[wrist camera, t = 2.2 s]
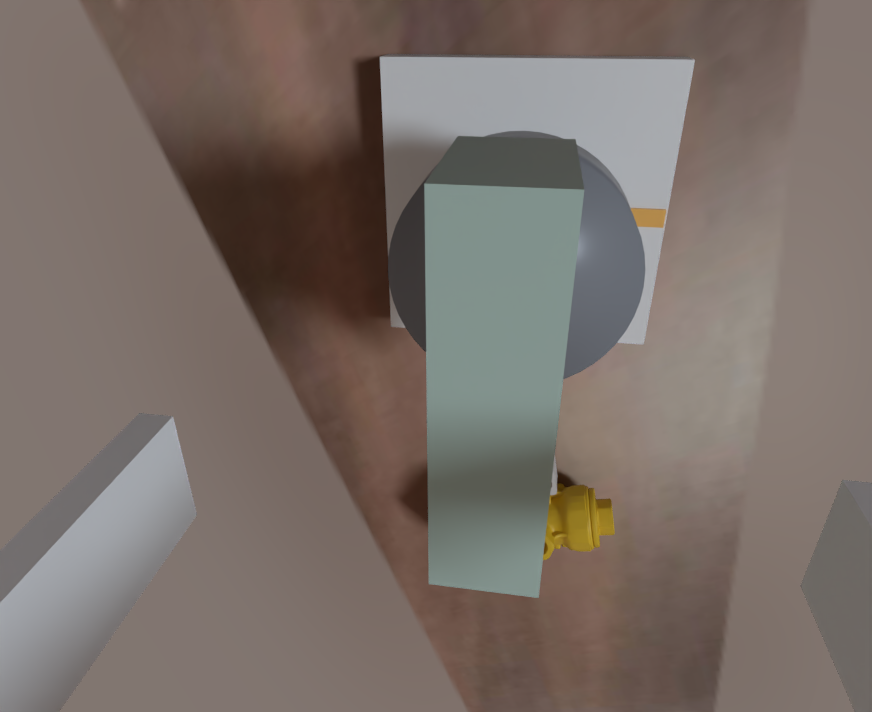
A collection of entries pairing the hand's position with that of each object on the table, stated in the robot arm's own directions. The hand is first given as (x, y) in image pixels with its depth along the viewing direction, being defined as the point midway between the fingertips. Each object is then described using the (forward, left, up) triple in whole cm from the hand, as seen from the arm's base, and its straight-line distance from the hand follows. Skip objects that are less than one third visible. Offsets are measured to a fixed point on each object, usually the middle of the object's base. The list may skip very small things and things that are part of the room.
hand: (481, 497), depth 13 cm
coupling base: (0, 0, -21) cm, 21 cm away
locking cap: (0, 0, -14) cm, 14 cm away
